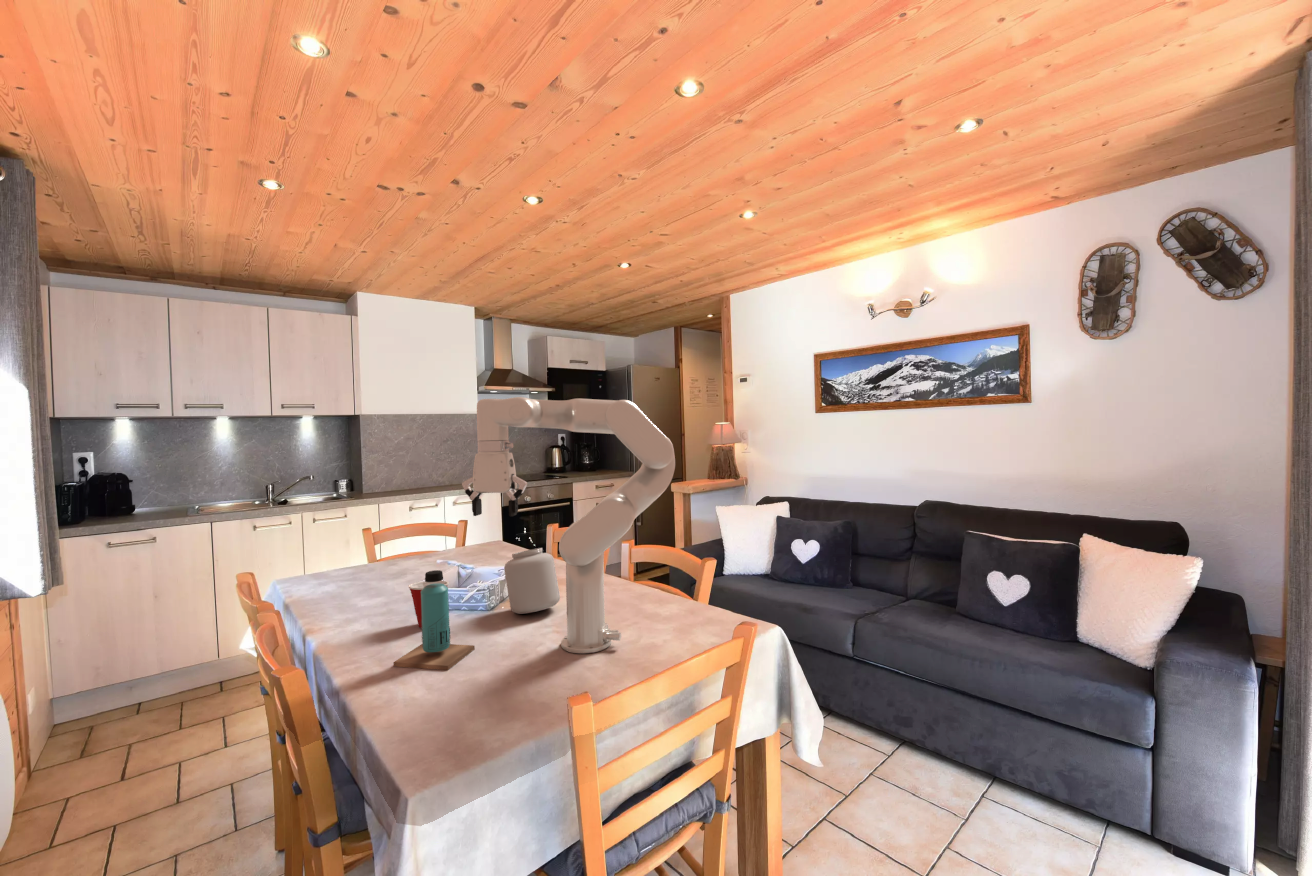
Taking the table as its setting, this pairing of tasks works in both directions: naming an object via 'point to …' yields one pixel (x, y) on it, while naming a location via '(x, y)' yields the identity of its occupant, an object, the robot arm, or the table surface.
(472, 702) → the table surface
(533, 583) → the jar
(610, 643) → the robot arm
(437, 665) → the walnut board
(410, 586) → the plastic cup
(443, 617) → the beverage bottle
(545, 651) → the table surface
